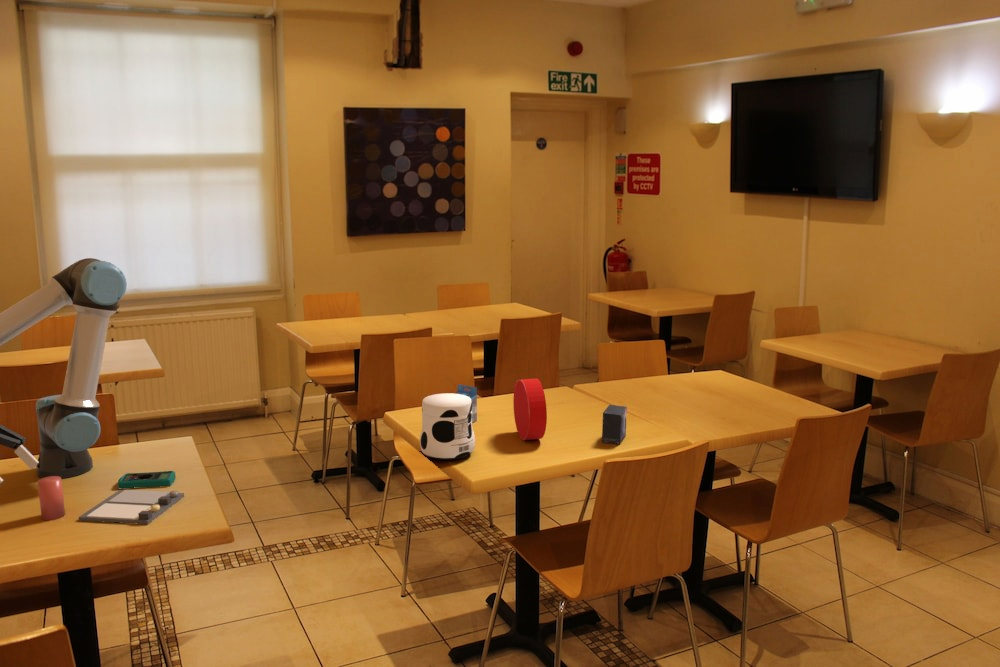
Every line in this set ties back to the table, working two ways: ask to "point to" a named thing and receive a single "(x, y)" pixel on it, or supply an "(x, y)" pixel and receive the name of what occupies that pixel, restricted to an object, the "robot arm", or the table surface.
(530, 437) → the upright red puck
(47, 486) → the pink domed cylinder
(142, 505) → the board
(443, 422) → the milk container
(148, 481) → the digital multimeter
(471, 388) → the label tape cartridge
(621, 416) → the small box
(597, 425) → the table surface
